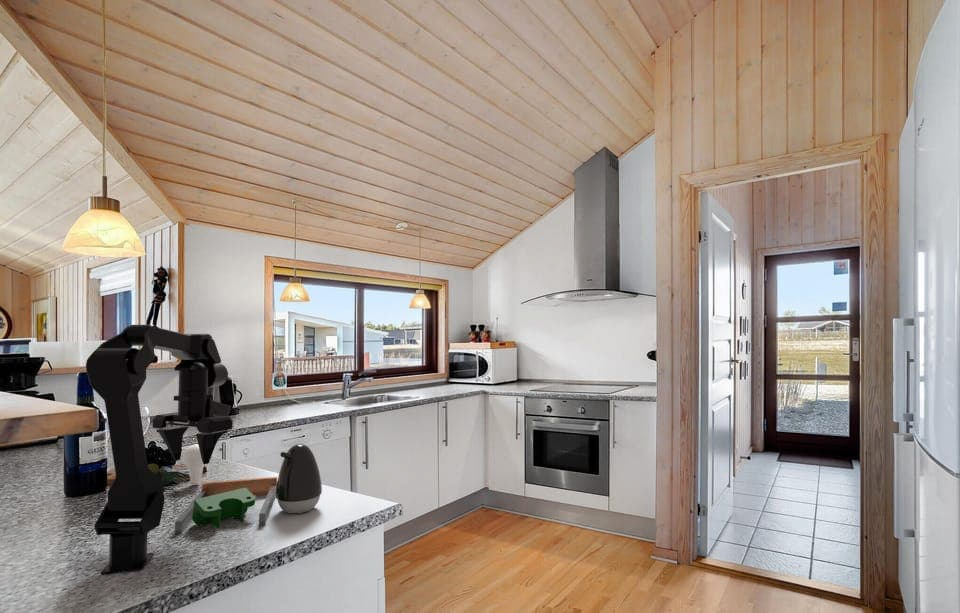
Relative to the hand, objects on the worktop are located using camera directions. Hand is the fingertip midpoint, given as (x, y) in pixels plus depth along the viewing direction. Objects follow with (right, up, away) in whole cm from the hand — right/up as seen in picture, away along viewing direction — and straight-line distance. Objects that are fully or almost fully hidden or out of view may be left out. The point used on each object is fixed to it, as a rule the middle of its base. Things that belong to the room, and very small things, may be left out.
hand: (191, 462), depth 116 cm
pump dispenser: (+21, -14, +7) cm, 26 cm away
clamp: (+7, -14, 0) cm, 15 cm away
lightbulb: (-14, -15, +28) cm, 35 cm away
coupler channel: (+5, -14, +7) cm, 16 cm away
